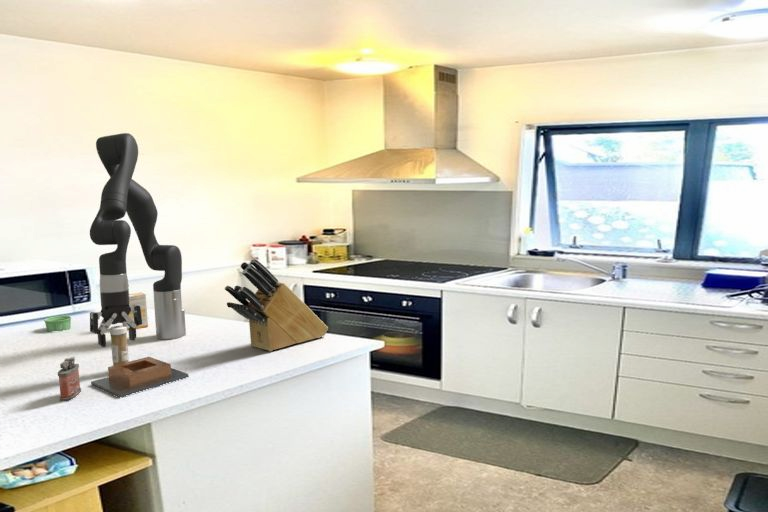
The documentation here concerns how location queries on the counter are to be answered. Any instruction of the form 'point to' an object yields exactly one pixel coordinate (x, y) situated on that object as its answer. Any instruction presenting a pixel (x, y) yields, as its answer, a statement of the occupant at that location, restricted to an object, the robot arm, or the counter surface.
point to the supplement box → (140, 301)
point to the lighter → (69, 379)
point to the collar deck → (129, 391)
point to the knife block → (274, 311)
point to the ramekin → (58, 323)
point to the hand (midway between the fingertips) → (117, 343)
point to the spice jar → (119, 344)
